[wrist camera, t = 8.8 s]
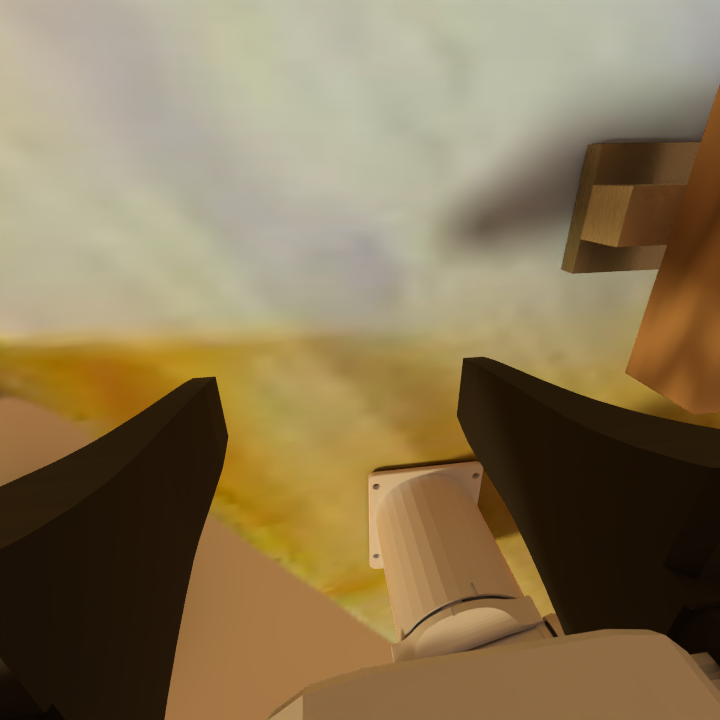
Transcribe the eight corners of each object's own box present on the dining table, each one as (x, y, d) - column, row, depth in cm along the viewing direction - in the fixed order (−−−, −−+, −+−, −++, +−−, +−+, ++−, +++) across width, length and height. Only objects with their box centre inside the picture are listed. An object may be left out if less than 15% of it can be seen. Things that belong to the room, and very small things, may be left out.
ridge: (690, 262, 22) (755, 277, 18) (561, 269, 21) (606, 285, 18) (734, 143, 19) (818, 135, 16) (587, 145, 18) (646, 138, 15)
